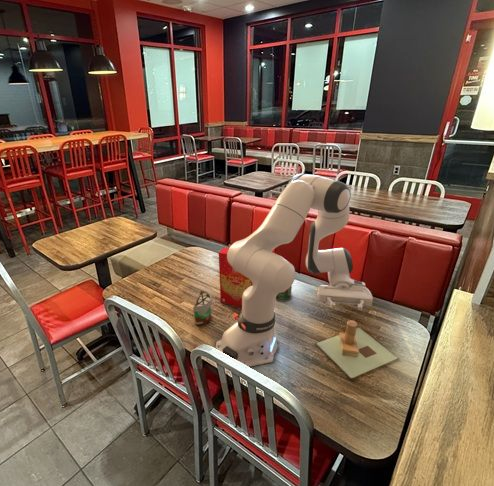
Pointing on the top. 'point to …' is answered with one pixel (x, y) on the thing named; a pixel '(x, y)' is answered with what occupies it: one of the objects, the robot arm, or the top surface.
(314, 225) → the robot arm
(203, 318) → the food container
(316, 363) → the top surface
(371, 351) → the mat
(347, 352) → the wooden block stack
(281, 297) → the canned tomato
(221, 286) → the food packaging
